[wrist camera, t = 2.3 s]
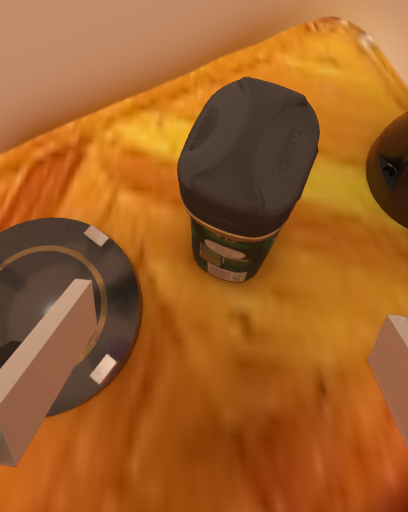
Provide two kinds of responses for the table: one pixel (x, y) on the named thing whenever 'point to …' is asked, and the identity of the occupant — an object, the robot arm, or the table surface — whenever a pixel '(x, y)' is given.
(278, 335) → the table surface
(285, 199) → the coffee jar
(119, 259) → the lug base plate
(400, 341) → the robot arm
